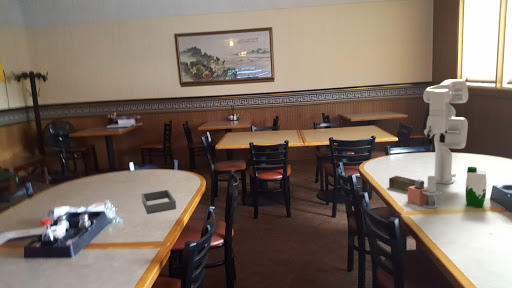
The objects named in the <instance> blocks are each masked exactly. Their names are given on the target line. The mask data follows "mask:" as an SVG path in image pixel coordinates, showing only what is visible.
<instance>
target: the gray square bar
mask: <svg viewBox="0 0 512 288" xmlns="http://www.w3.org/2000/svg"><path fill="white" fill-rule="evenodd" d="M414 180H415V188H416V189H424V187H425V181H424V180H422V179H414Z"/></svg>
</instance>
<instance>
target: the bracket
mask: <svg viewBox="0 0 512 288" xmlns="http://www.w3.org/2000/svg"><path fill="white" fill-rule="evenodd" d="M424 189H427V186H424ZM424 189H416V188H415V186H411V187H408V191H407V202H410V203H412V204H415V205H418V206H422V205H423V206H424V204H425V203H427V195H425V194H423V193H422V190H424ZM424 191H427V190H424Z"/></svg>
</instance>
